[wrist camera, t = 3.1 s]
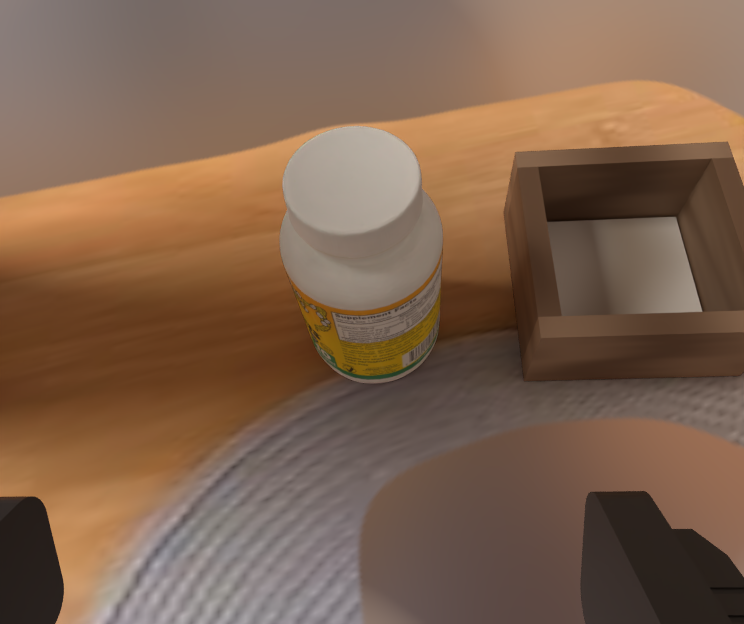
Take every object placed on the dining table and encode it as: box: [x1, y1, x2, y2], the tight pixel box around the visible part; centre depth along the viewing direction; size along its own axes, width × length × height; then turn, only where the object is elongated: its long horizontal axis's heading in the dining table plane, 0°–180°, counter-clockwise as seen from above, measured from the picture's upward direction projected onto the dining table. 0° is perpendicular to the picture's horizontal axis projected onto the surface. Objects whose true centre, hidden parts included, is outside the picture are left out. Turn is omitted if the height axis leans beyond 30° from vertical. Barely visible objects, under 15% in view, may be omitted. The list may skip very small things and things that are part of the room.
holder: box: [504, 142, 744, 381], centre depth 24 cm, size 8×8×4 cm
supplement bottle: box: [280, 126, 443, 383], centre depth 22 cm, size 5×5×10 cm
